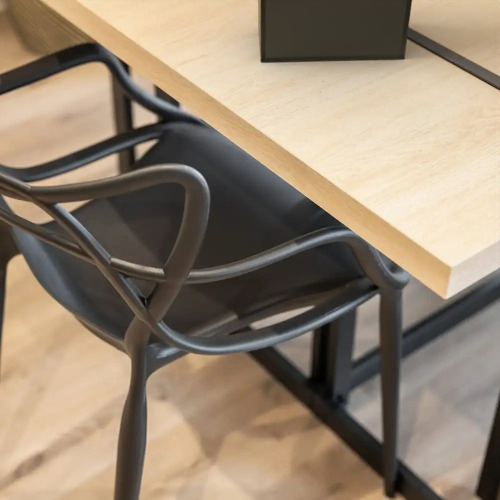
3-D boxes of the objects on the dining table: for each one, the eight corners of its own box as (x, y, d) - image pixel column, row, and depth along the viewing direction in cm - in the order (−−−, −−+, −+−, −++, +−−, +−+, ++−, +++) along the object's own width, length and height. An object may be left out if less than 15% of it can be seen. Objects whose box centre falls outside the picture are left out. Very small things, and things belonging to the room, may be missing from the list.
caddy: (392, 23, 95) (400, -40, 90) (404, 59, 89) (413, -7, 84) (258, 26, 95) (257, -37, 90) (260, 62, 89) (260, -4, 83)
